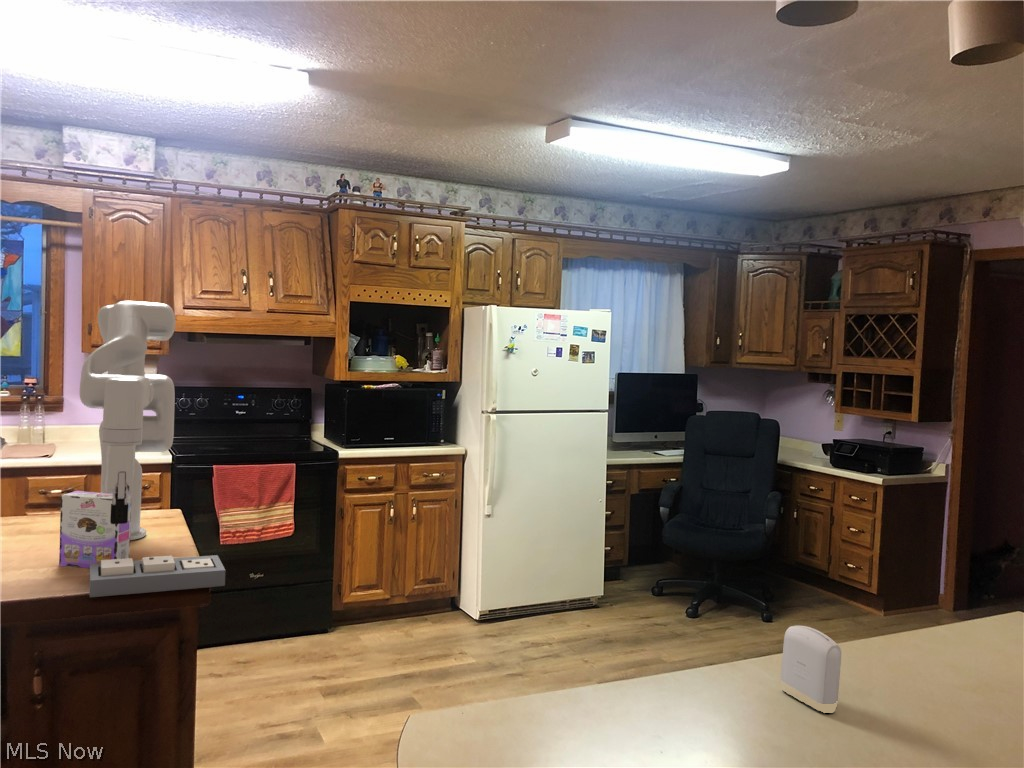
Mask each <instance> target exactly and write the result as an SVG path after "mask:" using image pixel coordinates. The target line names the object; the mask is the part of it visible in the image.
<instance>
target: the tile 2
mask: <svg viewBox="0 0 1024 768" xmlns="http://www.w3.org/2000/svg"><path fill="white" fill-rule="evenodd" d="M173 558H174V557H173V555H159V556H158V555H157V556H145V557H142V559H141V560H142V569H143V573H148V572H161V571H175V562H174V559H173Z"/></svg>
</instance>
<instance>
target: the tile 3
mask: <svg viewBox="0 0 1024 768" xmlns="http://www.w3.org/2000/svg"><path fill="white" fill-rule="evenodd" d="M181 568H182V570H188V569H201V568H214V565H213V563H212V561H211V559H210V558H208V559H194V560H182V563H181Z"/></svg>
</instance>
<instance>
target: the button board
mask: <svg viewBox="0 0 1024 768" xmlns="http://www.w3.org/2000/svg"><path fill="white" fill-rule="evenodd" d="M208 558H210V559H211V561H212V563H213V565H214V568H201V569H188V570H182V568H181V563H182V560H194V559H208ZM173 559H174V562H175V571H161V572H148V573H143V569H142V559H141V560H133V565H134V570H133V574H121V575H108V576H101V563H94V564H90V568H89V580H88V581H89V598H98V597H110V596H121V595H123V596H124V595H131V594H132V595H134V594H145V593H157V592H158V593H159V592H167V591H168V592H170V591H179V590H180V591H182V590H192V589H203V588H214V587H215V588H217V587H225V586H226V569H225V566H224V564H223V563H222V561H221V559H220V557H219V555H218V554H216V555H215V554H214V555H213V554H212V555H201V556H185V557H173Z"/></svg>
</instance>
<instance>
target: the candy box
mask: <svg viewBox="0 0 1024 768" xmlns="http://www.w3.org/2000/svg"><path fill="white" fill-rule="evenodd" d="M112 496H113V494H109V493H101V492H95V491H83V490H75V491H72V492H69V493H67V492H66V493H64V494H61V495H60V515H59V516H60V519H59V520H60V522H59V557H58V558H59V559H58V566H59V567H61V566H62V567H69V568H71V567H72V568H83V569H84V568H85V569H90V564H94V563H101V560H110V559H125V558H130V545H131V544H130V542H131V540H130V522H131V495H128V499H127V503H128V522H127V523H125V524H111V522H110V518H111V504H113V503H112Z"/></svg>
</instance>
